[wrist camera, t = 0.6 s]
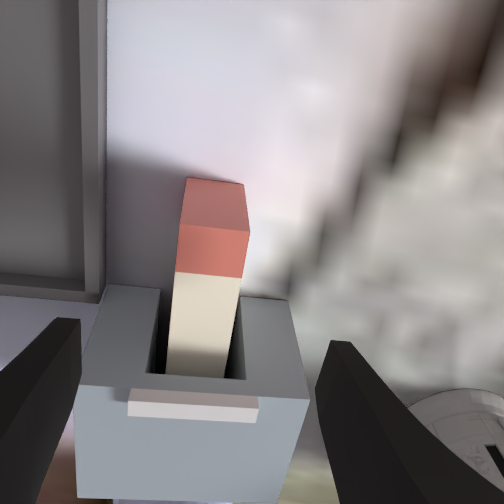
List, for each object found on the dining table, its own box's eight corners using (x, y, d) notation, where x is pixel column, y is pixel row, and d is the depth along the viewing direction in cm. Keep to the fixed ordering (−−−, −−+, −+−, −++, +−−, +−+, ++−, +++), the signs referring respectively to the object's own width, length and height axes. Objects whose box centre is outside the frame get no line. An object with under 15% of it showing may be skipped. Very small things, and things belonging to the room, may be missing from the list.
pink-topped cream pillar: (216, 353, 25) (215, 421, 21) (169, 350, 25) (161, 418, 21) (243, 184, 20) (250, 232, 16) (186, 177, 20) (179, 223, 16)
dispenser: (264, 396, 27) (278, 517, 21) (108, 385, 26) (73, 511, 19) (288, 300, 23) (313, 412, 17) (108, 283, 22) (67, 397, 16)
